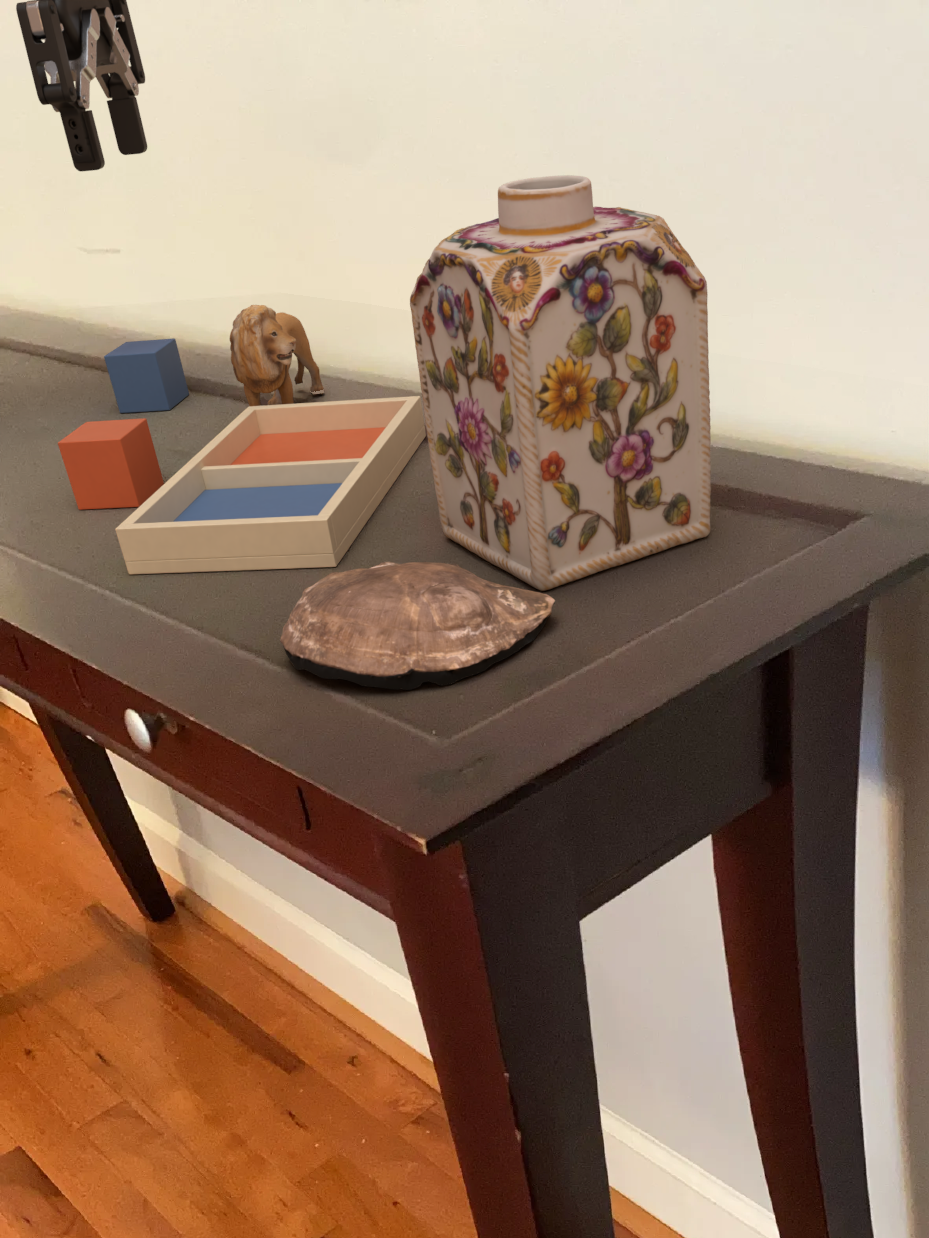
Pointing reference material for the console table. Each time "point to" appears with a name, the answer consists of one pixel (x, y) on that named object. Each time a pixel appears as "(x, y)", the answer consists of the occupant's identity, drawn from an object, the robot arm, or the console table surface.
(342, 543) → the sorting tray
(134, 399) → the blue block
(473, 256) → the decorative jar
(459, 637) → the shell
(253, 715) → the console table surface
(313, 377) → the lion figurine
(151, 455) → the terracotta block
